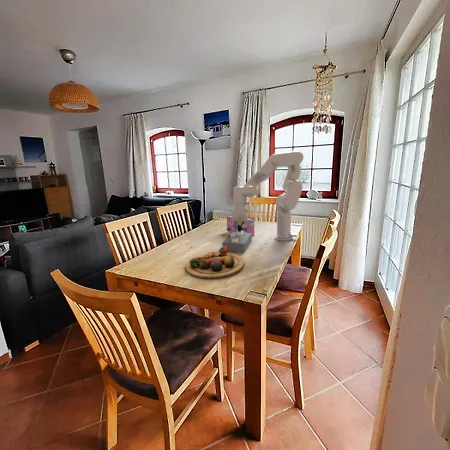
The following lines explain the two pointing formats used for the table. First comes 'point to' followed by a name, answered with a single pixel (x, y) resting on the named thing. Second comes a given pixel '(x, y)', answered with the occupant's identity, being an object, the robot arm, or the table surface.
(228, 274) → the wooden plate with food
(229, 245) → the panel
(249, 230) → the gum box
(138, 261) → the table surface
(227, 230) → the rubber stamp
